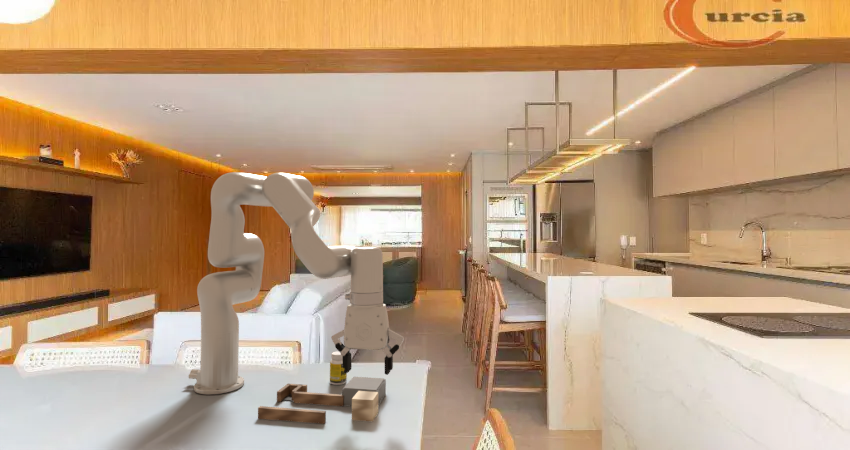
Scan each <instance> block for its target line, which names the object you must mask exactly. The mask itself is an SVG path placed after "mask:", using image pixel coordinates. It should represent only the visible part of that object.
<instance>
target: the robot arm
mask: <svg viewBox="0 0 850 450" xmlns="http://www.w3.org/2000/svg"><path fill="white" fill-rule="evenodd" d="M314 193H315V190H314V187H313V184H312V183H311V182H310V180H309V179H308V178H306V177H304V176H302V175H296V174H291V173H286V172H274V173H270V174H268V176H265V175H259V174H253V173H247V172H241V171H240V172H238V171H233V172H227V173H224V174H222V175H220V176H219V177H218V178H217V179H216V180H215V181H214V183H213V184H212V188H211V191H210V207H211V217H210V218H211V220H210V225H209V227H210V229H209V238H208V246H207V247H208V248H207V259H208V262H209V264H210V265H212V266H213V267H215V268H222V269H224V268H226V269H227V268H235V270H227V271H217V272H213V273H209V274H207V275H205V276H204V277H202V278H201V279H200V281H199V283H198V284H197V287H196V288H197V289H196V293H197V294H196V295H197V299H198V304H199V310H200V369H195V368H194V369H191V370H190V372H189V374H188V379H192V380H195V379H196V382H195V383H194V385H193V391H194V392H195V393H197V394H200V395H209V396H210V395H221V394H225V393H230V392H234V391H236V390H238V389H240V388H242V387H243V386H244V385H245V379H244V377H242V376H240V375H239V354H240V353H239V347H240V346H239V339H240V330H239V329H240V326H239V325H240V323H239V317H238V314H237V313H236V311H235V309H234V305H237V304H242V303H246V302H251V301H252V300H254V299H256V298H257V297H258V295H259V293H260V290H261V285H262V279H263V272H264V271H263V270H264V261H265V248H264V244H263V241H262V239H261V238H260V237H259V236H258V235H256V234H253V233H251V232H249V233H248V232H245V223H246V222H245V221H246V220H245V214H244V211H243V209H242V207H241V205H246V206H247V205H248V206H256V207H258V206H259V207H272V208H273V209H274V210H275V212H276V213H277V214H278V216H280V218H281V219H282V220H283V221H284V222H285V224H286V225H287V226H288V227H289V229H290V230H291V232H290V234H291V236H290V237H291V244H292V248H293V251H294V253H295V255H296V257H297V258H298V259H299V261H300V262H301V263H302V264H303V265H304V266H305V268H306V269H307V270H308V271H309V272H310V273H311V274H312V275H314V276H315V277H316V278H319V279H322V280H326V279H327V280H329V279H334V278H342V277H347V276H350V292H349V293H345V295H344V299H345V300H346V301H349V303H350V304H348V305H347V306H346V310H345V311H346V312H345V318H344V329H342V330H340V331H338V332H336V333H335V334H333V335H332V336H331V340H332V342H333V344H334V347H335V348H336V350H337V351H339V352H340V353H341V355H342V356H343V368H344V372H345V373H347V374H348V373H349V372H350V371H351V370H352V352H350V351H351V350H360V351H361V350H362V351H363V350H365V351H379V350H380V351H381V350H382V352H383V353H384V354H385V357H384V374H385V375H389V374H390V373H391V371H392V370H393V367H394V357H393V355H394V354H395V353H397V352H398V350H399V349H400V348H401V345H402V344H403V342H404V340H405V337H404V336H403V335H401V334H400V333H398V332H396V331H394V330H392V329H391V328H390V322H389V316H388V315H389V313H388V310H387V306H386V303H384V271H383V270H384V267H383V265H384V263H383V262H384V261H383V260H384V259H383V258H384V257H383V250H382V249H381V248H380V247H379V246H352V245H327V244H326V243H325V242H324V241H323V240H322V238H320V236H319V235H318V234H317V232H316V231H315V228H314V227H315V225H316V224H317V223H318V221H319V219H320V217H321V211H320V208H318V206H317V205H316V204H315V203H314V202H313V198H314V195H315V194H314ZM342 337H343V343H342V342H341V338H342ZM390 338H391V339H393V340H395V343H394V345H393V346H391V344H389V343H390Z"/></svg>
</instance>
